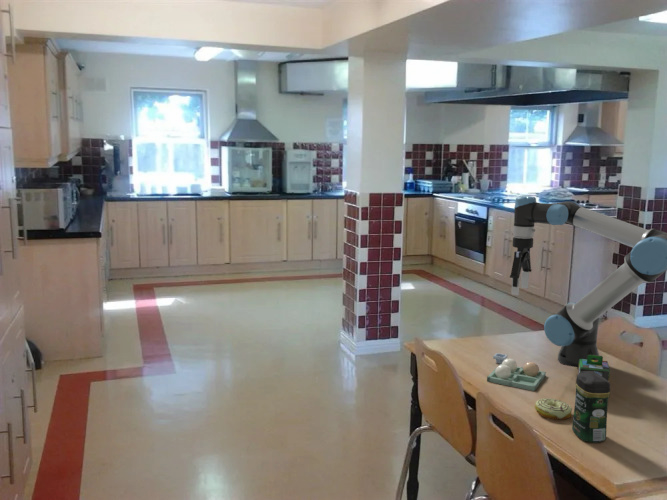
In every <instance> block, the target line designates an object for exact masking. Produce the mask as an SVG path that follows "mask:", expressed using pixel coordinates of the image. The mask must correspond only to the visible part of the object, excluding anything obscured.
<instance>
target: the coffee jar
mask: <svg viewBox="0 0 667 500" xmlns="http://www.w3.org/2000/svg"><path fill="white" fill-rule="evenodd" d="M610 395H611V382H610V380H609V381H607V380H606V379H605V378H603V377H602V376H601V375H599V374H597V373H595V372H594V371H581V372H580V373H579V374H578V373H577V375H576V378H575V398H574V408H573V417H572V425H571V429H572V431H573V432H574V434H575V435H576V436H577V438H579V439H581V441H583V442H589V443H594V444H596V443H602V442H604V441H605V440H606V439H607V428H608V427H607V422H608V421H607V420H608V405H609V404H608V403H609V397H610Z"/></svg>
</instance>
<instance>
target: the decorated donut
mask: <svg viewBox="0 0 667 500" xmlns="http://www.w3.org/2000/svg"><path fill="white" fill-rule="evenodd" d="M534 409H535V411H536V413H537V414H538V415H539V416H542V417H543V418H545V419H548V420H557V421H558V420H561V421H564V420H567V419H569V418H571V416H572V411H573V408H572V407H571V405H570V404H568V403H566V402H565V401H563V400H560V399H556V398H550V397H548V398H547V397H544V398H539V399H538V400H536V402H535V405H534Z"/></svg>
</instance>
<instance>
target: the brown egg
mask: <svg viewBox="0 0 667 500" xmlns="http://www.w3.org/2000/svg"><path fill="white" fill-rule="evenodd" d="M522 368H523V371H524V373H525V375H526V376H530V377H535V376H537V375H538V373H539V371H540V367H539V365H538V364H537V363H536V362H534V361H528V362H526V363H524V365H523V367H522Z"/></svg>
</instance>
